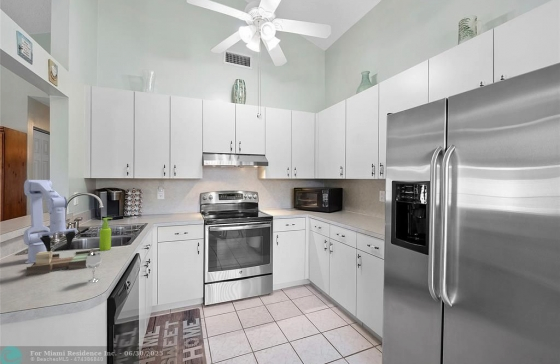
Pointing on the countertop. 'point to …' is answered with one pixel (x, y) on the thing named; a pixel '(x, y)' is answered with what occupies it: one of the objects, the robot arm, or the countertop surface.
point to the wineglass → (93, 264)
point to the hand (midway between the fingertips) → (59, 249)
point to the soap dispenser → (105, 236)
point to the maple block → (43, 257)
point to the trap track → (60, 263)
